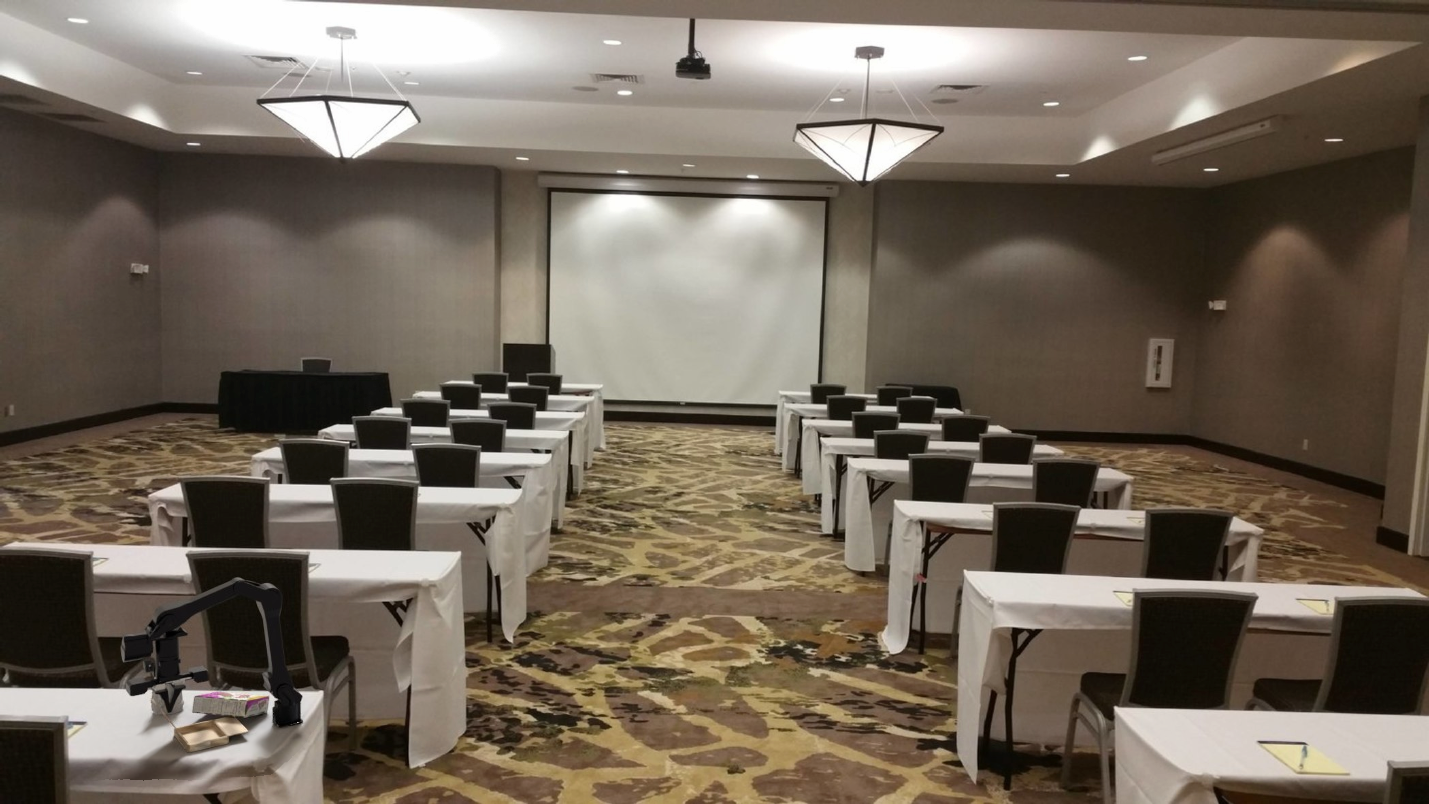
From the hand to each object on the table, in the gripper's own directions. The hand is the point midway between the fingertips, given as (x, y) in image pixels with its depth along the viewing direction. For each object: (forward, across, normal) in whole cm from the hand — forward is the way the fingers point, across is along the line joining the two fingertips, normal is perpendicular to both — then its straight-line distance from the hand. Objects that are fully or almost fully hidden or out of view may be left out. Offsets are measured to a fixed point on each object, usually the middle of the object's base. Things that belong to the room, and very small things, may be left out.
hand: (169, 712), depth 270 cm
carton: (+9, -10, 0) cm, 14 cm away
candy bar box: (+6, -13, -18) cm, 23 cm away
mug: (+10, -5, -26) cm, 28 cm away
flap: (+7, -3, 0) cm, 7 cm away
